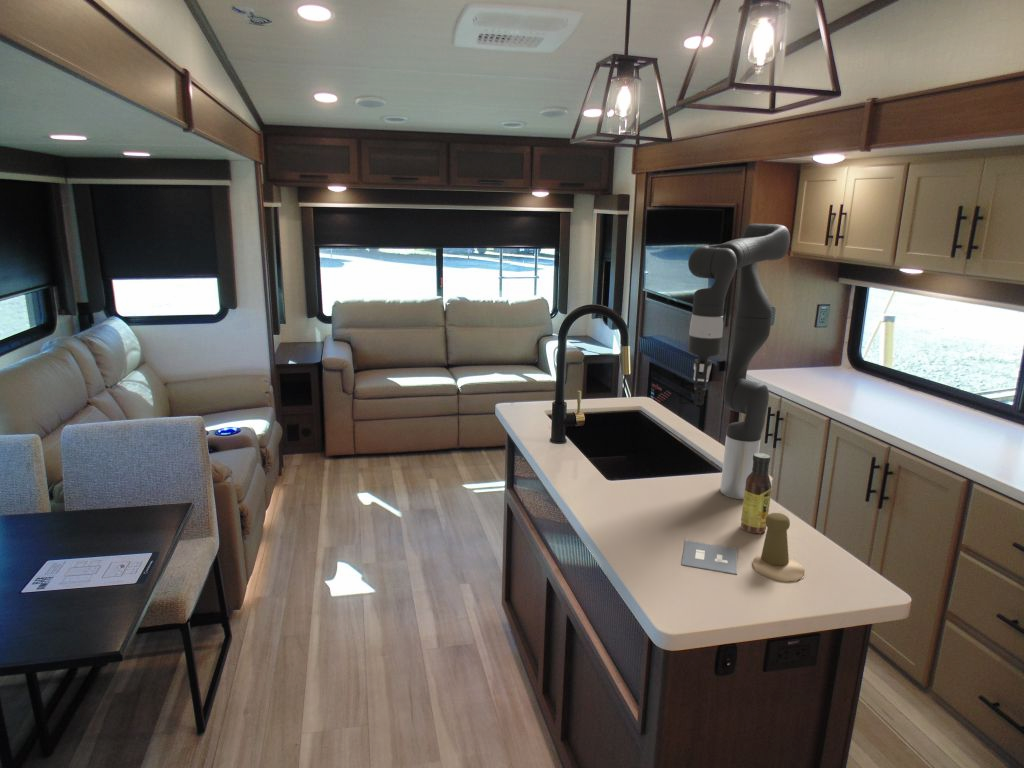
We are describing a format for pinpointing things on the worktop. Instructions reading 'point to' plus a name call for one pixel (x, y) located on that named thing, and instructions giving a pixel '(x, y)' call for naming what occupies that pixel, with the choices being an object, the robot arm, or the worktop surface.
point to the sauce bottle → (757, 495)
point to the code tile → (710, 557)
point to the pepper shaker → (776, 540)
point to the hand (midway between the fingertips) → (699, 400)
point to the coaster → (779, 570)
